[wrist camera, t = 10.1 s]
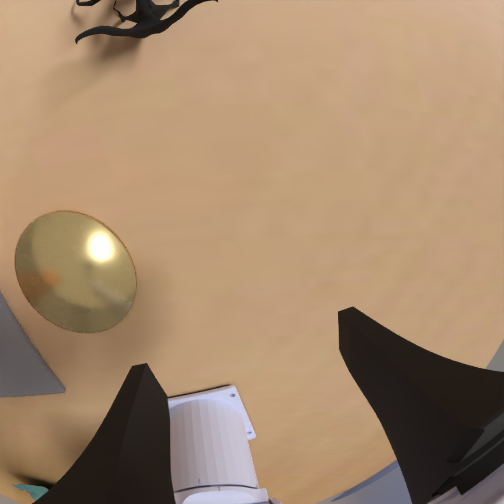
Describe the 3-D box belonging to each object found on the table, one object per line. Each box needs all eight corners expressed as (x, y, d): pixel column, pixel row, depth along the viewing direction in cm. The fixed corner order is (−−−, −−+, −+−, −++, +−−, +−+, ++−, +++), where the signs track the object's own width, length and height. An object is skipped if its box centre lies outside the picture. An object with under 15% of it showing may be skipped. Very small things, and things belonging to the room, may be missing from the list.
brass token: (156, 315, 20) (156, 318, 20) (53, 339, 20) (52, 341, 19) (107, 191, 16) (105, 192, 16) (-2, 234, 16) (-4, 236, 15)
